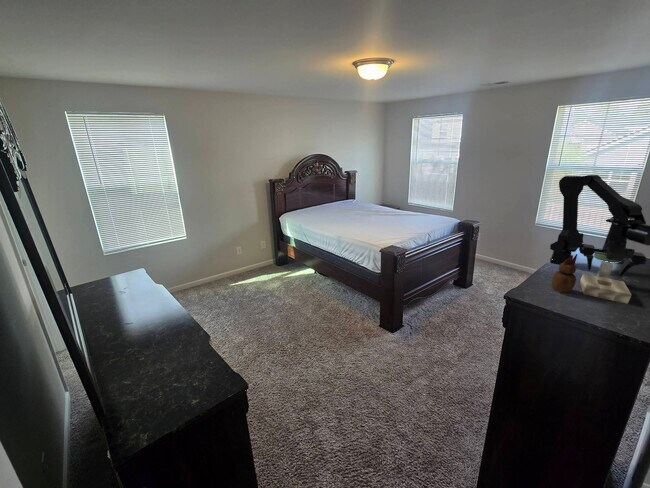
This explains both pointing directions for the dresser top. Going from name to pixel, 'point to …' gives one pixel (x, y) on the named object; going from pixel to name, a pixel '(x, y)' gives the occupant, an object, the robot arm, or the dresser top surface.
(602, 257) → the decorative artifact
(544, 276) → the dresser top surface
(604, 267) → the pin
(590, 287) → the hole block
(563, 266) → the wooden figurine
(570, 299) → the dresser top surface
